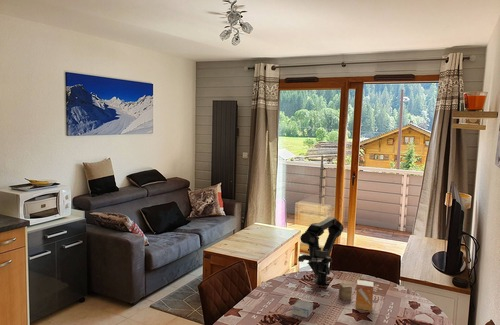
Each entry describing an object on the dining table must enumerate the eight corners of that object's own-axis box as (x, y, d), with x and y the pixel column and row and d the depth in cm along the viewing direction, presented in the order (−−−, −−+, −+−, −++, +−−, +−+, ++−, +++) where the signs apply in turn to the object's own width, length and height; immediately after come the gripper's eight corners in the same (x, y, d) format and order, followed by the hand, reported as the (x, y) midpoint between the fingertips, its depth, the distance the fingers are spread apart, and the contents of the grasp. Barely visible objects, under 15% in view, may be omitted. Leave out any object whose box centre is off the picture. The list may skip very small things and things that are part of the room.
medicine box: (298, 307, 198) (292, 314, 190) (298, 298, 198) (292, 305, 190) (313, 310, 194) (307, 318, 187) (313, 302, 194) (307, 309, 186)
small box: (355, 308, 198) (356, 284, 196) (356, 303, 204) (357, 279, 202) (372, 311, 195) (373, 286, 194) (372, 305, 201) (373, 281, 200)
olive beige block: (338, 295, 212) (339, 283, 211) (347, 295, 213) (348, 282, 212) (342, 299, 207) (343, 287, 207) (351, 299, 208) (352, 286, 207)
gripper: (308, 241, 205) (311, 272, 199) (336, 244, 213) (339, 274, 207) (296, 246, 214) (298, 275, 208) (324, 248, 222) (326, 277, 215)
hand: (316, 275), depth 209 cm, fingers closed
